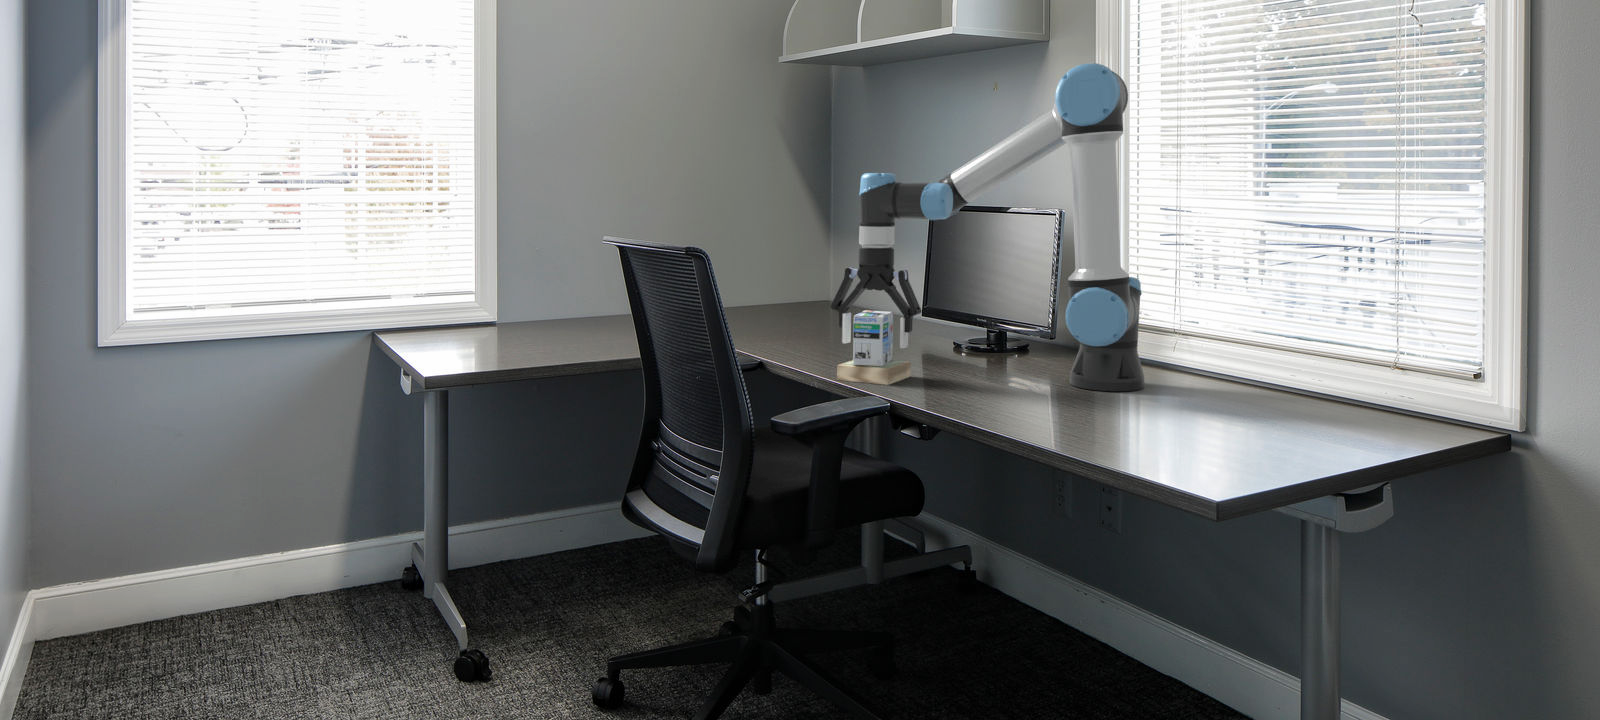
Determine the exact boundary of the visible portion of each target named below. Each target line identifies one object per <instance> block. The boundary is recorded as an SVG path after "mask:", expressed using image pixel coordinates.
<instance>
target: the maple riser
mask: <svg viewBox="0 0 1600 720" xmlns="http://www.w3.org/2000/svg"><path fill="white" fill-rule="evenodd" d="M911 367H912V362H911V361H903V360H893V359H892V360H891V361H890V362H888V363H887V364H885V365H883V366H867V365H853V359H852V360H849V361H846V362H843V363H840V364H837V365H836V380H837V381H845V382H856V383H864V384H873V385H874V384H876V385H884V386H890V385H892V384H895V383H897V382H900V381H902V380H905V379H907V378H910V377H911V376H912V375H911V370H912V368H911Z"/></svg>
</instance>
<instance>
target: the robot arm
mask: <svg viewBox="0 0 1600 720" xmlns="http://www.w3.org/2000/svg"><path fill="white" fill-rule="evenodd" d="M1054 95H1055V96H1054V103H1053V106H1052V107H1053V108H1052V109H1051V110H1049V111H1047V112H1046V113H1044V114H1043V115H1041V116H1040V117H1038V118H1036V119H1034V120H1033V121H1031V122H1030V123H1028V124H1027V125H1025V126H1024V127H1022V128H1021V129H1019V130H1017V131H1016V132H1014V133H1012V134H1010V135H1009V136H1008V137H1006V138H1004V139H1003V140H1001V141H1000V142H998V143H996V144H995V145H994V146H992V147H990V148H988V149H987V150H986V151H984V152H983V153H981V154H979V155H977V156H976V157H975V158H972V159H971V160H970V161H968V162H966V163H965V164H964V165H962V166H960V167H958V168H957V169H955V170H954V171H951V173H949V174H948V175H946V176H943V178H941V179H940V180H938V181H934V182H899V181H898V182H897V176H896V174H894V172H893V173H891V172H888V173H887V172H866V173H863V174H862V175H861V177H860V184H859V185H860V186H859V187H860V188H859V193H858V196H859V224H858V225H859V230H858V232H859V233H858V234H859V235H858V244H859V245H861V246H859V248H858V269H857V268H855V267H846V268H845V269H844V274H843V280H842V282H841V284H840V286H839V288H838V290H837V291H836V295H835V297H834V298H833V301H832V303H831V304H830V309H831V310H832V311H833V310H834V311H837V313H838V327H839V328H842V329H841V330H842V332H841V333H842V334H841V336H842V337H841V343H842V344H848V343H851V342H852V340H851V336H852V335H851V334H852V312H849V310H850V308H852V306H853V305H854V304H855V303H856V301H857V300H858V299H859V297H860V296H861V295H862V294H863V293H864V292H865V291H866V290H867V291H872V290H875V291H879V292H880V291H884V292H885V293H886V294H888V296H889V297H890V299H891V300H892V302H893V303H894V304H895V306H896V307H897V308H898V309H899V311H900V313H901V314H902V315H903V316H902V317H900V319H899V320H900V321H899V322H900V323H899V326H900V327H899V349H905V348H908V347H909V333H912V332H913V320H914V319H913V318H914V316H917V315H921V313H922V308H921V306H920V303H919V301H918V300H917V296H916V295H915V292H914V290H913V288H912V285H911V283H910V281H909V280H910V279H909V271H908V270H907V269H902V270H898V271H895V267H894V266H895V249H894V247H892V246H894V245H895V226H896V224H895V222H896V219H898V220H900V219H905V220H906V219H908V220H909V219H910V220H929V221H938V220H947V219H948V218H949V217H951V216H952V217H953V216H954V215H956V214H957V213H958V212H959V211H960V209H962V208H963V207H965V206H966V205H968V204H969V203H971V202H972V201H974V200H976V199H978V198H979V197H981V196H982V195H984V194H986V193H987V192H989V191H990V190H992V189H993V188H996V187H997V186H999V185H1000V184H1002V183H1004V182H1005V181H1007V180H1008V179H1010V178H1012V177H1013V176H1015V175H1017V174H1019V173H1020V172H1022V171H1024V170H1025V169H1027V168H1028V167H1031V165H1034V164H1035V163H1036V162H1038V161H1040V160H1041V159H1043V158H1045V157H1047V155H1048V156H1049V154H1051V153H1053V152H1055V151H1056V150H1058V149H1060V148H1061V147H1062V146H1063V147H1064V146H1065V145H1068V146H1069V153H1070V154H1069V155H1070V172H1071V176H1070V177H1071V194H1072V195H1071V197H1072V198H1071V199H1072V201H1071V202H1072V217H1073V218H1072V219H1073V243H1074V264H1075V266H1074V267H1075V268H1074V271H1073V272H1072V273H1071V274H1070V276H1069V277H1068V279H1067V283H1068V284H1067V286H1068V303H1067V306H1066V308H1065V315H1064V316H1065V325H1066V327H1067V329H1068V330H1069V333H1070V334H1071V335H1072V336H1073V337H1074V338H1075V339H1076V340H1077V341H1078V342H1079V349H1078V352H1077V355H1076V356H1075V360H1074V363H1073V365H1072V368H1071V371H1070V374H1069V384H1070V385H1071V386H1073V387H1076V388H1078V389H1079V388H1080V389H1086V390H1093V391H1103V392H1132V391H1133V392H1134V391H1138V390H1139V391H1140V390H1142V389H1144V387H1145V374H1144V370H1143V366H1142V363H1141V360H1140V355H1139V352H1138V342H1139V326H1140V306H1141V296H1142V290H1141V288H1142V287H1141V286H1142V285H1141V281H1140V279H1139V278H1137V277H1132V276H1130V274H1129V273H1128V272H1127V271H1126V270H1125V269H1123V267H1122V266H1121V247H1120V245H1121V244H1120V221H1119V198H1118V197H1119V196H1118V171H1117V147H1116V146H1117V142H1118V140H1119V139H1120V138H1121V136H1123V134H1124V114H1125V110H1126V108H1127V105H1128V104H1129V103H1128V102H1129V92H1128V88H1127V85H1126V83H1125V81H1124V80H1123V78H1122V77H1121V76H1120V75H1119V74H1117V73H1116V72H1114V71H1113V70H1112V69H1111V68H1110V67H1108V66H1105V65H1103V64H1100V63H1094V62H1093V63H1082V64H1078V65H1076V66H1074V67H1073V68H1071V69H1069V70H1068V71H1066V73H1064V75H1062V77H1061V79H1060V80H1059V82H1058V83H1057V86H1056V88H1055V94H1054ZM856 277H857V278H858V279H859V282H858V283H857V284H856V286H855V288H854V289H853V291H851V293H850V294H849V295H848V292H849V290H850V287H851V286H852V283H854V282H853V281H854V279H856ZM895 278H896V280H897V281H898V282H899V283H898V284H899V286H900V288H901V290H902V293H903V295H904V298H905V299H904V298H903V296H902V294H901V293H900V292H899V291H898V289H897V287H896V285H895V284H894V282H893V280H894V279H895ZM847 295H848V297H847V298H846V296H847ZM845 298H846V299H845Z"/></svg>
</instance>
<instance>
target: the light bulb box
mask: <svg viewBox="0 0 1600 720" xmlns="http://www.w3.org/2000/svg"><path fill="white" fill-rule="evenodd" d="M893 335H894V312H893V311H883V310H865V309H864V310H863V311H861V312H859V313H857V314H854V315H853V336H852V337H853V338H852V339H853V345H852V346H853V347H852V349H853V353H852V355H853V356H852V360H853V365H867V366H883V365H885V364H887V363H888V362H890V361H891V360H893V342H894V341H893V340H894V337H893Z"/></svg>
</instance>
